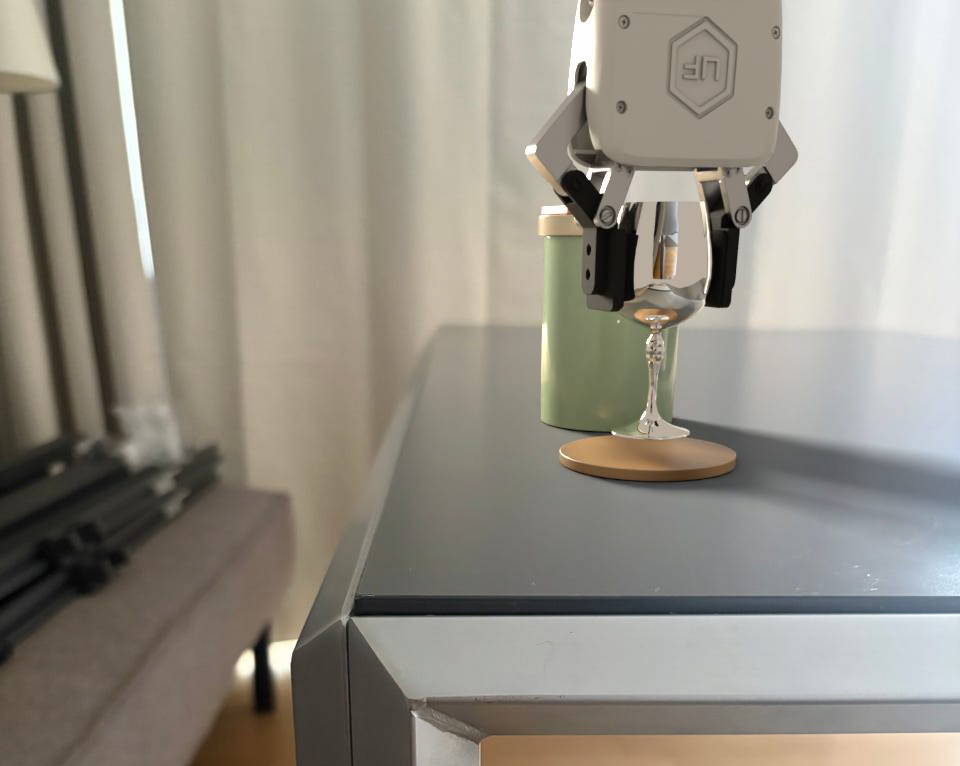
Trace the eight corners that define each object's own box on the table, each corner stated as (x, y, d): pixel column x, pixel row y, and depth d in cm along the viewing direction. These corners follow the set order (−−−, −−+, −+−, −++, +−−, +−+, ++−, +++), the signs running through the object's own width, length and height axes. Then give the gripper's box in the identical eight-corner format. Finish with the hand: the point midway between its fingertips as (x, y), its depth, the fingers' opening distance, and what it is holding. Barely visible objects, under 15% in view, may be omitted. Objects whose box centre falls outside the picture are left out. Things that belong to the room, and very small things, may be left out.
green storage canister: (634, 404, 76) (645, 207, 70) (706, 427, 67) (724, 203, 62) (513, 412, 72) (515, 206, 67) (571, 437, 64) (579, 202, 59)
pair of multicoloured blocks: (591, 215, 66) (592, 186, 66) (619, 214, 63) (620, 184, 62) (541, 214, 65) (542, 186, 64) (567, 213, 62) (568, 183, 61)
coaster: (677, 439, 63) (678, 430, 63) (771, 472, 54) (773, 461, 54) (532, 451, 60) (532, 441, 60) (608, 488, 51) (608, 476, 51)
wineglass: (578, 432, 57) (585, 203, 52) (640, 420, 60) (651, 204, 56) (661, 447, 53) (677, 200, 48) (721, 432, 57) (741, 202, 52)
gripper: (547, -139, 41) (539, 318, 48) (884, -97, 47) (833, 308, 53) (484, -88, 48) (485, 308, 55) (786, -57, 53) (752, 300, 60)
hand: (657, 304), depth 54 cm, fingers closed on wineglass, 5 cm apart
